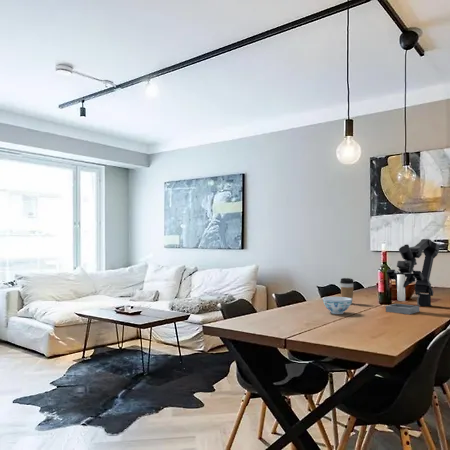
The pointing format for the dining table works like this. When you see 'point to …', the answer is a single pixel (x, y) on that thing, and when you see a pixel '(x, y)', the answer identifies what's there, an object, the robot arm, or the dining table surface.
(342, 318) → the dining table surface
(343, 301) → the chinaware
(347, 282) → the coffee cup
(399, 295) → the peg
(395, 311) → the socket tray
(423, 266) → the robot arm
